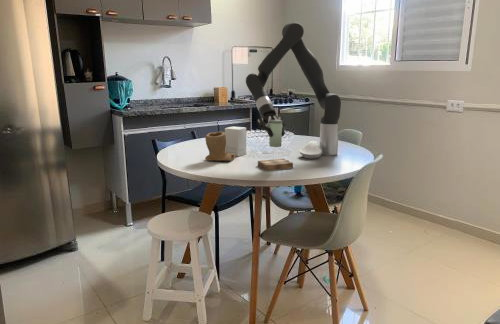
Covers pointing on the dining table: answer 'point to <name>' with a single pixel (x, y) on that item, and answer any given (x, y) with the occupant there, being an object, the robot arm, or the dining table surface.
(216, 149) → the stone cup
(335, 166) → the dining table surface
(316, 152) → the spoon rest
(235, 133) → the supplement box
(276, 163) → the dock
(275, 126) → the tea tin
